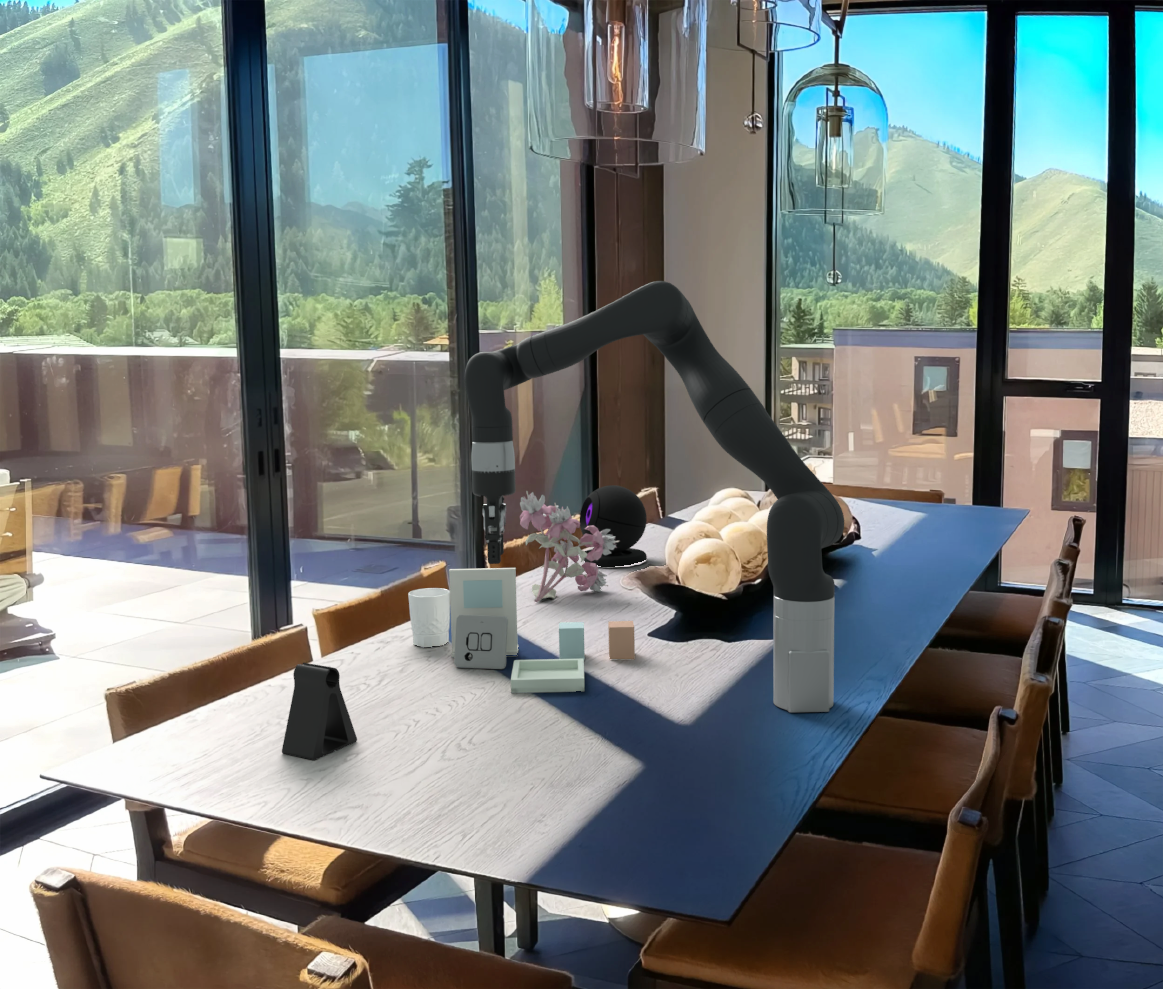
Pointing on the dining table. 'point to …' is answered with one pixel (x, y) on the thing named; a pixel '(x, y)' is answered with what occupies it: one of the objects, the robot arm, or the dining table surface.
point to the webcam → (616, 523)
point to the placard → (485, 598)
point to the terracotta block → (621, 640)
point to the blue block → (571, 640)
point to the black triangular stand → (317, 714)
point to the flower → (564, 546)
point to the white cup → (430, 616)
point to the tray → (547, 675)
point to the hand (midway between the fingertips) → (496, 559)
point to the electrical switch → (481, 641)
